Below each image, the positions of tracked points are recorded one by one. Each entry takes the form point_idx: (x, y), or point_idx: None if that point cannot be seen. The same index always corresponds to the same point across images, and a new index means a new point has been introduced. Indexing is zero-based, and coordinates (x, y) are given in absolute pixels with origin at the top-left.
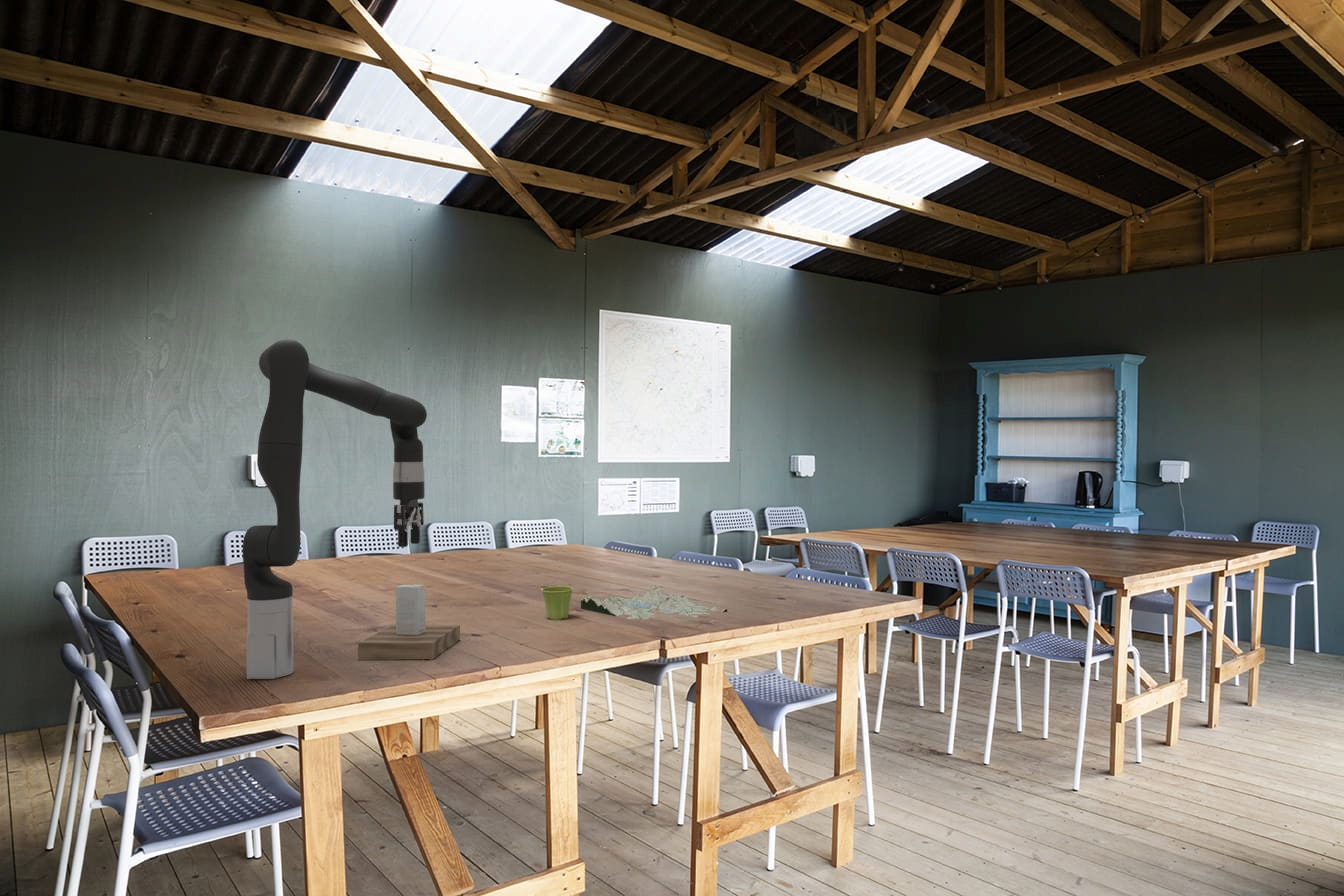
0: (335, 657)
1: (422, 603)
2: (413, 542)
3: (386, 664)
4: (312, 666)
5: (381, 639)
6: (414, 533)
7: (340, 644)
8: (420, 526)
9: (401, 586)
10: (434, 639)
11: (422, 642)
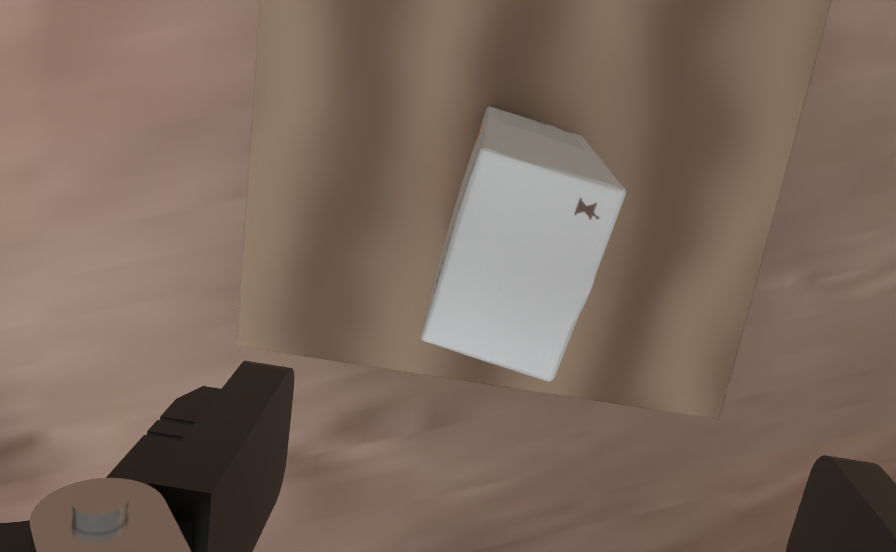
0: (617, 490)
1: (529, 139)
2: (283, 454)
3: (831, 229)
4: (780, 539)
5: (650, 320)
6: (238, 527)
7: (335, 532)
8: (125, 503)
9: (552, 337)
10: (724, 6)
11: (796, 66)
